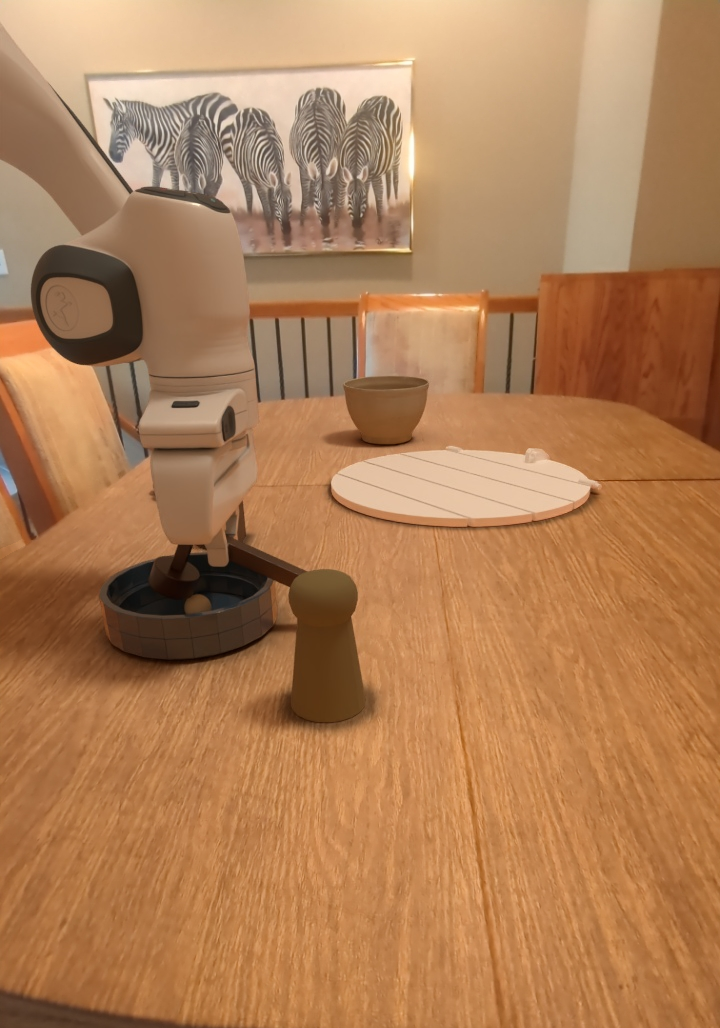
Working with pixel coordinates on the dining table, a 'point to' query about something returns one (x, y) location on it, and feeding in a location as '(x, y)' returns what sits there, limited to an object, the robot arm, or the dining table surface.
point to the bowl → (176, 636)
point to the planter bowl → (386, 406)
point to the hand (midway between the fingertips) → (224, 558)
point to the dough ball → (197, 604)
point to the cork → (325, 647)
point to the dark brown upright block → (241, 523)
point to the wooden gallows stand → (182, 577)
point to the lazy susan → (462, 487)
